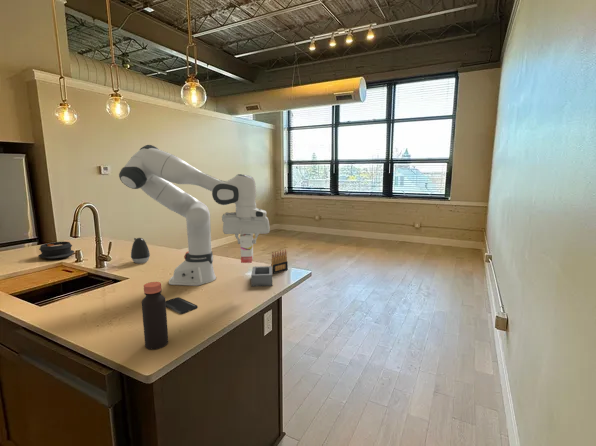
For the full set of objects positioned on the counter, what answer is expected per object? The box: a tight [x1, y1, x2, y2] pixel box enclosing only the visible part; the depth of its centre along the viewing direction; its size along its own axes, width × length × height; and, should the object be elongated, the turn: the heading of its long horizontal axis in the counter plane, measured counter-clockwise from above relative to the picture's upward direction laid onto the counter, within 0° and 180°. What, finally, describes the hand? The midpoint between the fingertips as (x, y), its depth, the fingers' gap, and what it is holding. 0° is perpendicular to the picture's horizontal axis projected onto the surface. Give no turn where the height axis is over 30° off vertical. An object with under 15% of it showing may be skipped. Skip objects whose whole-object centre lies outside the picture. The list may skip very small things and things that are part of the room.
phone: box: [166, 296, 198, 315], centre depth 128 cm, size 8×1×15 cm
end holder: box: [250, 265, 273, 287], centre depth 157 cm, size 10×14×6 cm
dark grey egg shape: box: [130, 237, 151, 264], centre depth 189 cm, size 10×10×15 cm
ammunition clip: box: [270, 249, 289, 275], centre depth 172 cm, size 11×2×12 cm, turn 132°
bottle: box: [141, 281, 169, 350], centre depth 98 cm, size 7×7×20 cm
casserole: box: [38, 241, 75, 260], centre depth 202 cm, size 25×19×8 cm
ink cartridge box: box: [239, 229, 254, 264], centre depth 138 cm, size 9×5×15 cm, turn 4°
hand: (247, 243), depth 138 cm, fingers closed on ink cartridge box, 5 cm apart
